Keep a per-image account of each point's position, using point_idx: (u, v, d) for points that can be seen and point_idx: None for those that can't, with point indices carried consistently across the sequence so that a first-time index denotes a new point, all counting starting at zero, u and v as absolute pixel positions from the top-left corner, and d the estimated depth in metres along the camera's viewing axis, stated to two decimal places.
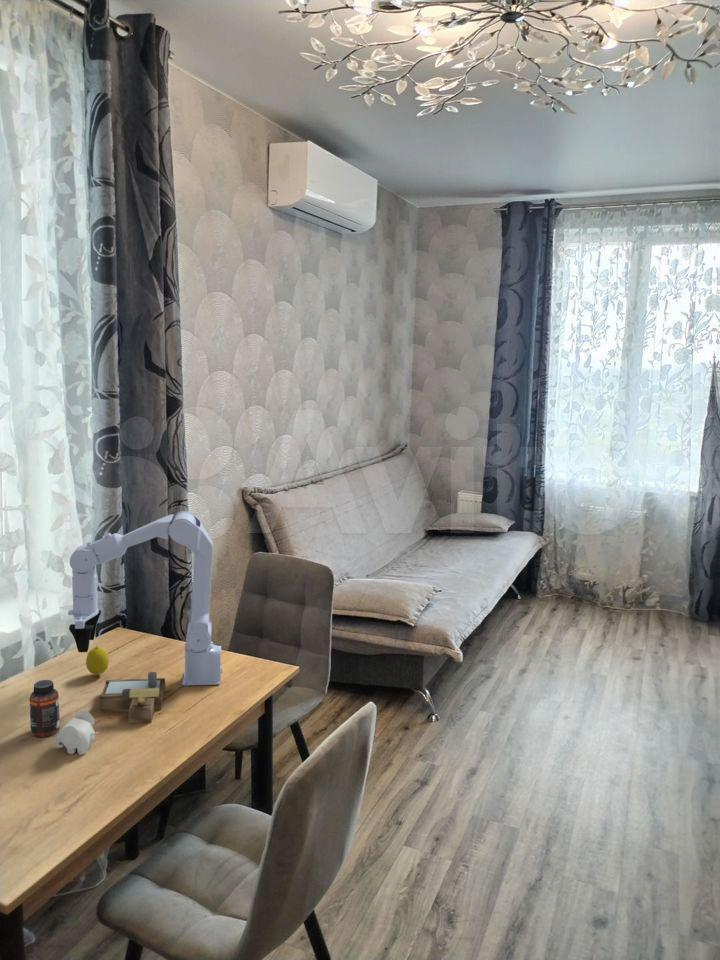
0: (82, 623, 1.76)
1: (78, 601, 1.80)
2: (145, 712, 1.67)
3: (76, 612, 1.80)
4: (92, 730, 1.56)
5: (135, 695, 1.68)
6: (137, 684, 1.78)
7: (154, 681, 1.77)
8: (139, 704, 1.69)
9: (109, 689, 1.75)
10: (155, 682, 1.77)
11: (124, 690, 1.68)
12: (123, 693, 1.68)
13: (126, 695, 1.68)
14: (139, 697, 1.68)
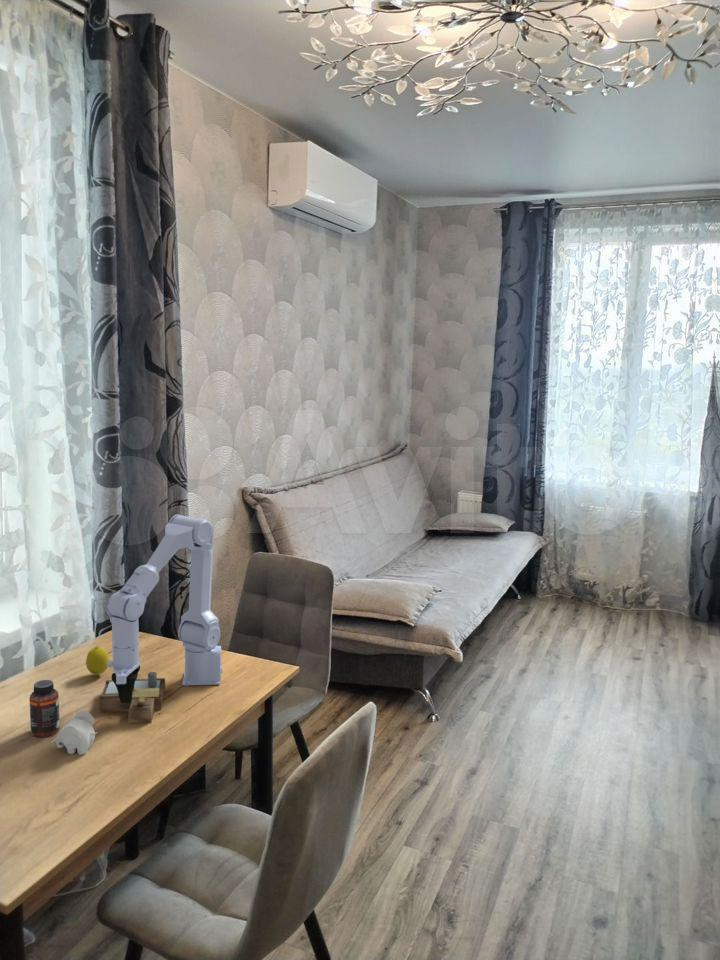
0: (124, 678, 1.60)
1: (119, 653, 1.64)
2: (145, 712, 1.67)
3: (116, 665, 1.65)
4: (92, 730, 1.56)
5: (135, 695, 1.68)
6: (137, 684, 1.78)
7: (154, 681, 1.77)
8: (139, 704, 1.69)
9: (109, 689, 1.75)
10: (155, 682, 1.77)
11: None
12: None
13: None
14: (139, 697, 1.68)
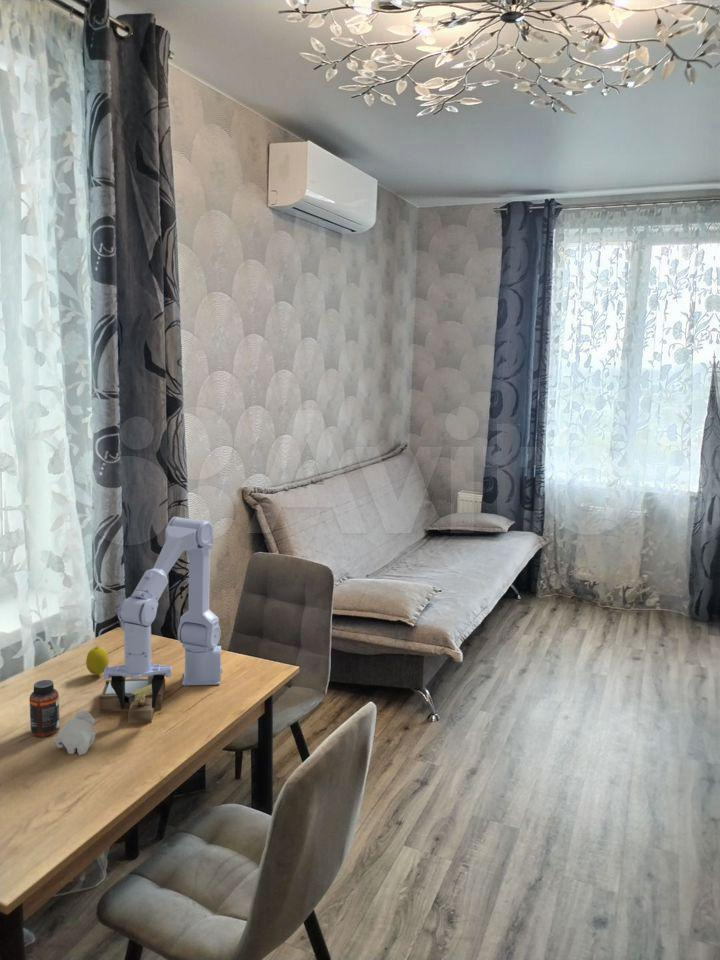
0: (171, 668, 1.67)
1: (149, 655, 1.64)
2: (145, 712, 1.67)
3: (147, 669, 1.63)
4: (92, 730, 1.56)
5: (139, 696, 1.68)
6: (137, 684, 1.78)
7: None
8: (141, 704, 1.69)
9: (109, 689, 1.75)
10: None
11: (128, 695, 1.66)
12: (129, 698, 1.65)
13: (132, 699, 1.66)
14: (142, 697, 1.68)
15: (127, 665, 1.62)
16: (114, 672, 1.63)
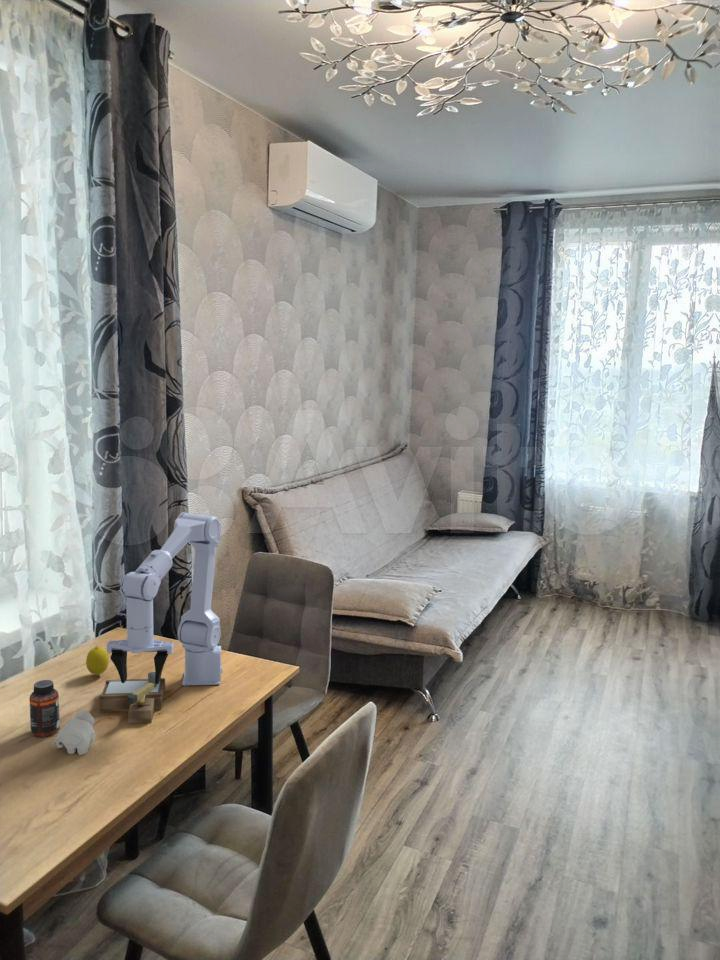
0: (173, 645, 1.66)
1: (150, 631, 1.64)
2: (145, 712, 1.67)
3: (148, 644, 1.63)
4: (92, 730, 1.56)
5: (140, 696, 1.68)
6: (137, 684, 1.78)
7: (154, 681, 1.77)
8: (142, 704, 1.69)
9: (109, 689, 1.75)
10: None
11: (131, 696, 1.65)
12: (133, 699, 1.65)
13: (135, 699, 1.66)
14: (142, 697, 1.69)
15: (128, 639, 1.63)
16: (116, 646, 1.64)
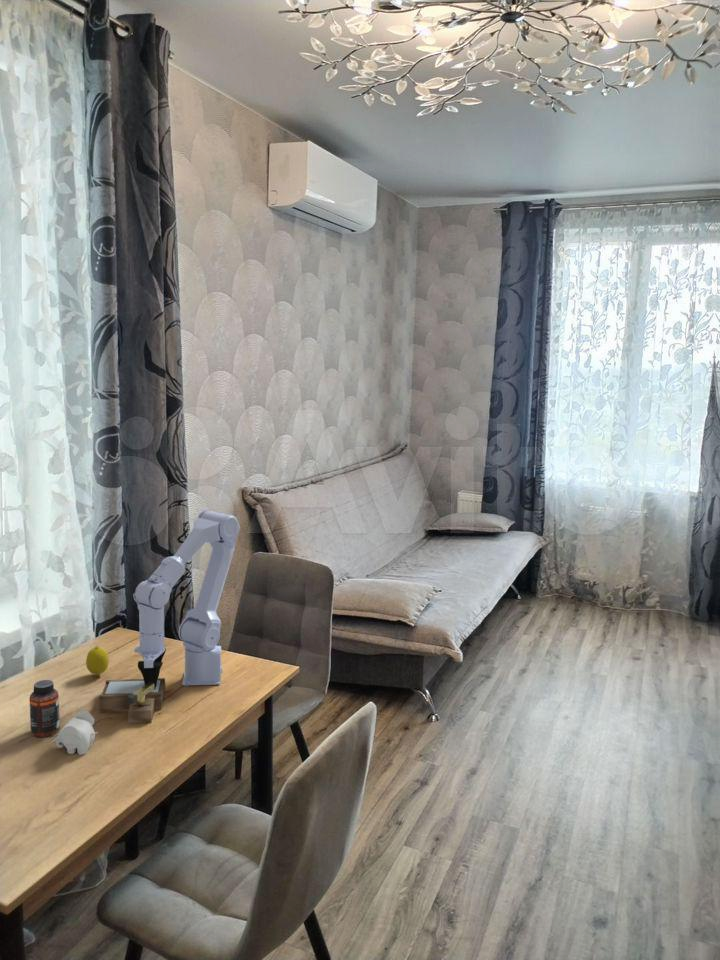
0: (151, 662, 1.69)
1: (146, 638, 1.73)
2: (145, 712, 1.67)
3: (143, 650, 1.74)
4: (92, 730, 1.56)
5: (140, 696, 1.68)
6: (137, 684, 1.78)
7: None
8: (142, 704, 1.69)
9: (109, 689, 1.75)
10: None
11: (131, 696, 1.65)
12: (133, 699, 1.65)
13: (135, 700, 1.66)
14: (142, 697, 1.69)
15: None
16: None
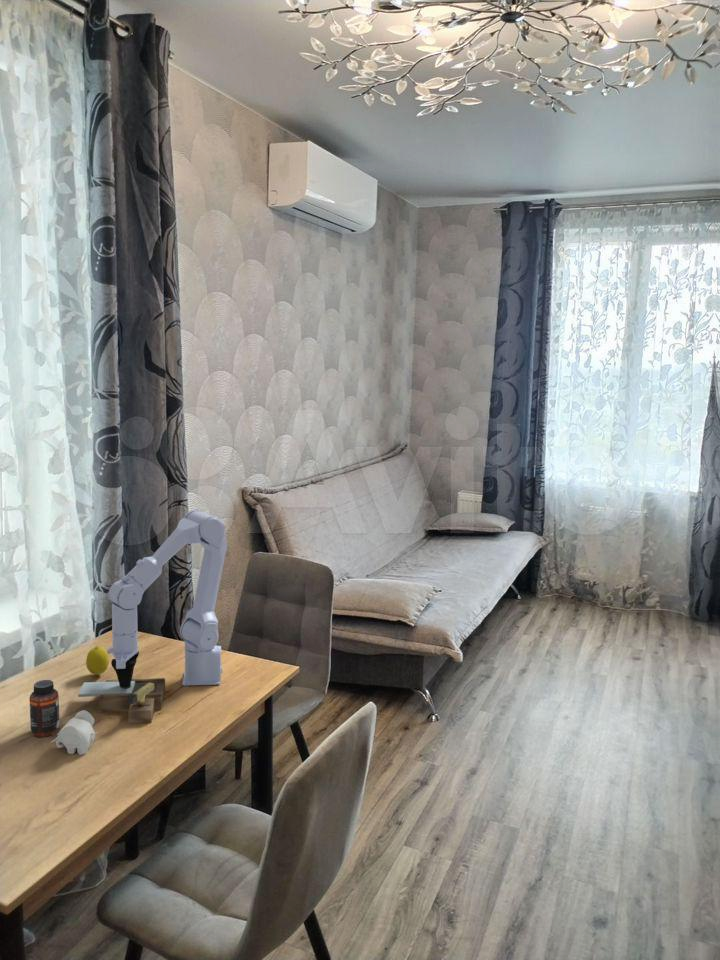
0: (123, 663, 1.68)
1: (119, 639, 1.72)
2: (145, 712, 1.67)
3: (116, 650, 1.73)
4: (92, 730, 1.56)
5: (140, 696, 1.68)
6: (111, 685, 1.78)
7: None
8: (142, 704, 1.69)
9: (83, 690, 1.75)
10: None
11: (131, 696, 1.65)
12: (133, 699, 1.65)
13: (135, 699, 1.66)
14: (142, 697, 1.69)
15: None
16: None
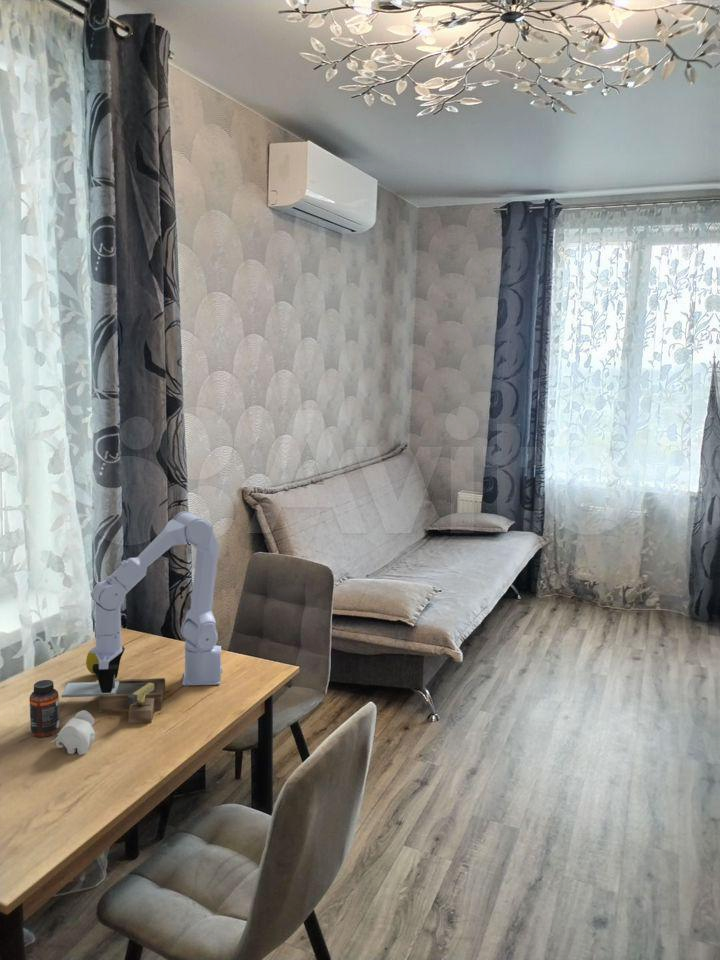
0: (106, 663, 1.68)
1: (102, 639, 1.71)
2: (145, 712, 1.67)
3: (99, 651, 1.72)
4: (92, 730, 1.56)
5: (140, 696, 1.68)
6: (95, 685, 1.77)
7: None
8: (142, 704, 1.69)
9: (66, 690, 1.74)
10: (113, 683, 1.76)
11: (131, 696, 1.65)
12: (133, 699, 1.65)
13: (135, 699, 1.66)
14: (142, 697, 1.69)
15: None
16: None
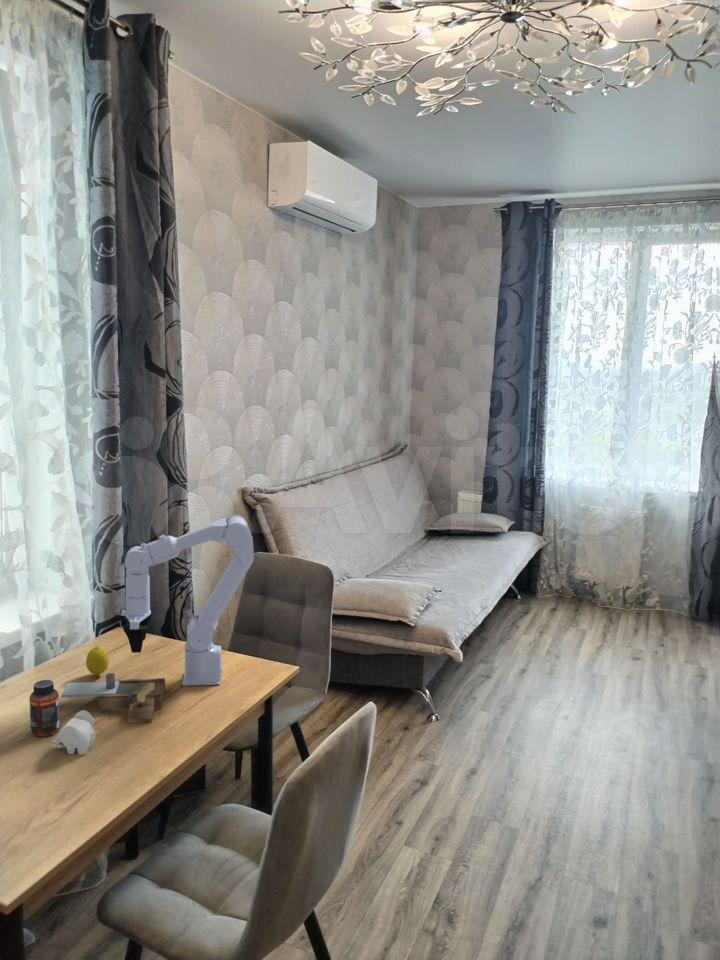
0: (137, 624, 1.78)
1: (132, 602, 1.81)
2: (145, 712, 1.67)
3: (130, 613, 1.82)
4: (92, 730, 1.56)
5: (140, 696, 1.68)
6: (95, 685, 1.77)
7: (112, 682, 1.75)
8: (142, 704, 1.69)
9: (66, 690, 1.74)
10: (113, 683, 1.76)
11: (131, 696, 1.65)
12: (133, 699, 1.65)
13: (135, 699, 1.66)
14: (142, 697, 1.69)
15: None
16: None
